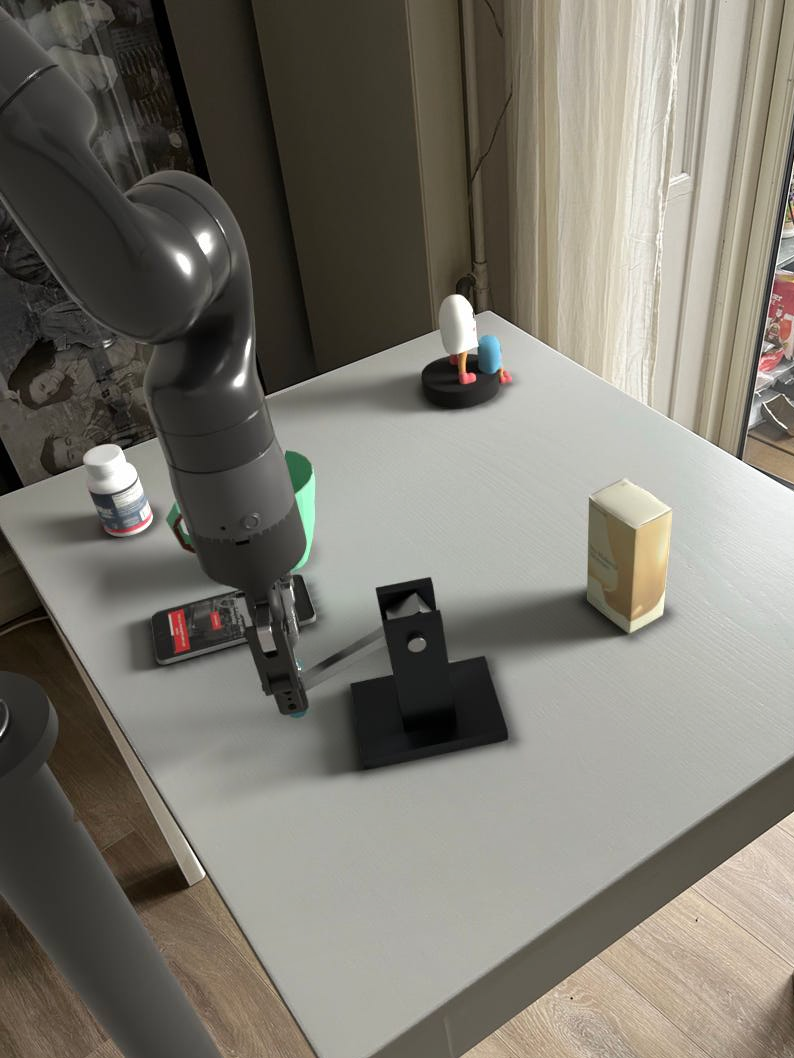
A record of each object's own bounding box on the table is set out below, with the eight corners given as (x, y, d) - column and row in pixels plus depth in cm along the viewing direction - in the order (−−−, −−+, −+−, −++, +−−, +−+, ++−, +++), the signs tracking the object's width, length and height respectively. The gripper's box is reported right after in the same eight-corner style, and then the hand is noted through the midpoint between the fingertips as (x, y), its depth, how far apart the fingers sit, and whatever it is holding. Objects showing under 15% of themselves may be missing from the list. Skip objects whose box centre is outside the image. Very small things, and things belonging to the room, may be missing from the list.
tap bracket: (364, 770, 80) (335, 658, 71) (352, 692, 86) (324, 580, 77) (508, 739, 81) (497, 625, 72) (485, 664, 87) (473, 551, 78)
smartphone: (149, 613, 95) (301, 572, 98) (151, 618, 95) (303, 577, 98) (156, 662, 90) (316, 617, 92) (158, 668, 90) (318, 623, 93)
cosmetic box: (585, 601, 92) (584, 493, 84) (620, 581, 94) (622, 474, 85) (631, 637, 88) (634, 528, 80) (667, 616, 90) (674, 507, 81)
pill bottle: (96, 524, 108) (67, 455, 102) (139, 503, 110) (112, 434, 104) (119, 544, 105) (89, 474, 99) (162, 522, 107) (136, 452, 101)
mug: (319, 519, 105) (300, 438, 98) (343, 572, 98) (324, 489, 91) (183, 558, 102) (153, 478, 95) (198, 616, 95) (167, 533, 88)
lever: (299, 724, 77) (280, 708, 75) (294, 676, 81) (276, 659, 79) (440, 643, 74) (423, 624, 73) (428, 597, 78) (412, 578, 77)
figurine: (520, 397, 120) (514, 303, 112) (431, 415, 119) (419, 321, 111) (501, 362, 127) (494, 271, 119) (417, 378, 126) (404, 287, 117)
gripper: (183, 455, 71) (241, 622, 82) (180, 577, 60) (246, 749, 71) (287, 436, 71) (330, 603, 82) (301, 553, 61) (348, 727, 72)
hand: (291, 671), depth 77 cm, fingers open, 8 cm apart
